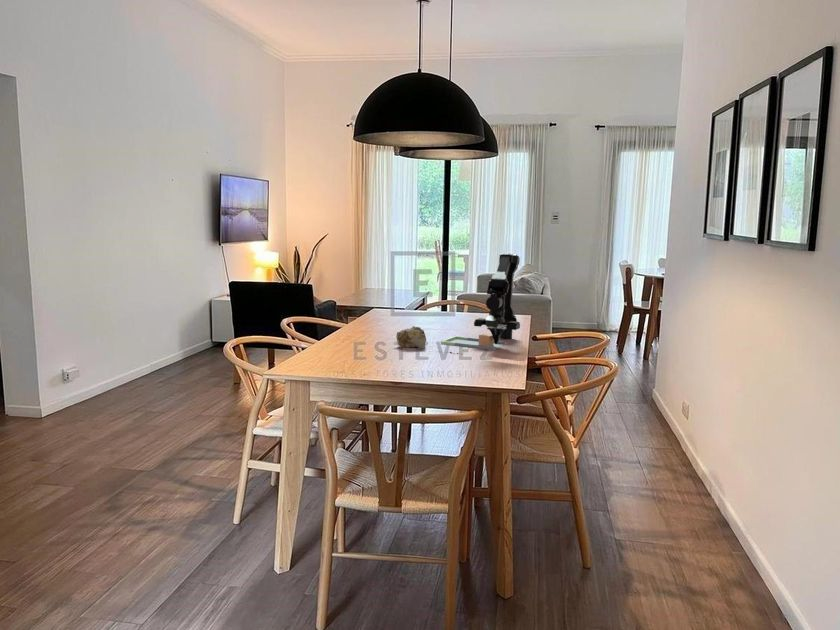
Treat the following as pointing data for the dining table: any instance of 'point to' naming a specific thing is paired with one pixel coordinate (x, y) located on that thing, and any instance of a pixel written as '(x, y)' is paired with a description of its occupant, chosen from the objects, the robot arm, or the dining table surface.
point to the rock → (411, 338)
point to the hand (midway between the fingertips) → (496, 344)
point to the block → (486, 340)
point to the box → (470, 342)
